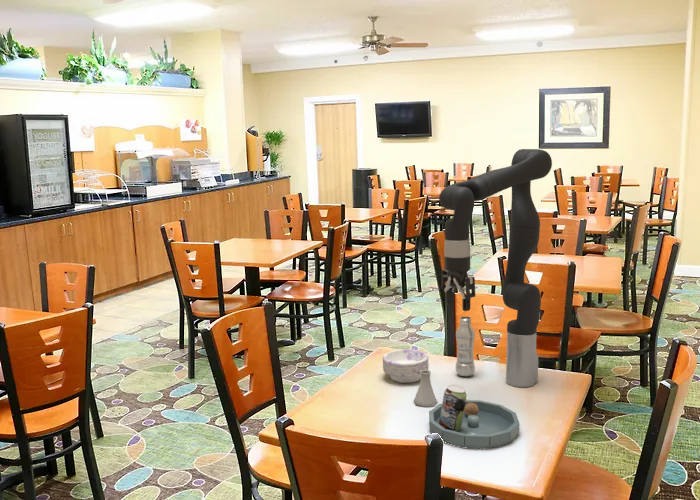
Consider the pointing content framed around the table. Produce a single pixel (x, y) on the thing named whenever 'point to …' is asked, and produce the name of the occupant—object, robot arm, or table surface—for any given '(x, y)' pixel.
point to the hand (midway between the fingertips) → (457, 307)
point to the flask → (425, 391)
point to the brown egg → (471, 409)
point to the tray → (479, 426)
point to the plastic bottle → (465, 348)
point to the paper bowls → (405, 365)
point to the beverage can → (453, 408)
